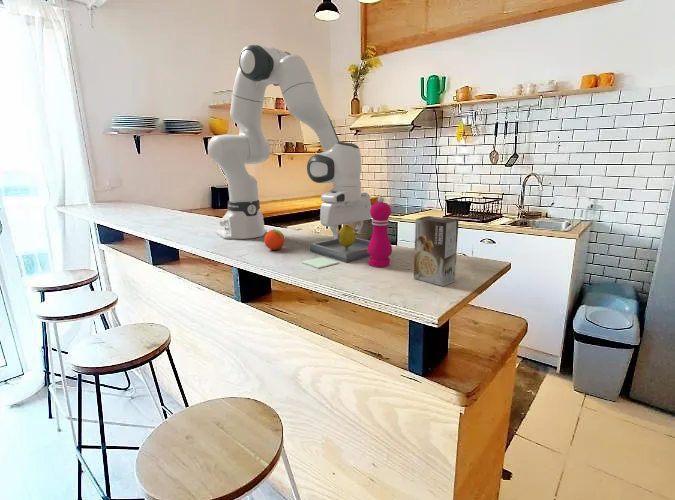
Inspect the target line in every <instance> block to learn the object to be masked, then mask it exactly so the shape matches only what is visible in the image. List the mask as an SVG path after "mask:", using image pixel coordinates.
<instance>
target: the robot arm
mask: <svg viewBox="0 0 675 500" xmlns="http://www.w3.org/2000/svg"><path fill="white" fill-rule="evenodd" d="M238 65H239V67H238V69H237V72H236V76H235V78H234V83H233V88H232V95H231V101H230V109H229V114H230V115H229V116H230V119H232V121H233V122H234V123H235V124H236V125H238V129H239V133H238V134H218V135H215V136H213V137H211V138H210V139H209V140H208V143H207V154H208V156H209V158H210V159H211V161H212V162H213V163H215V164H216V165H217V166H218V167H219V168H220V169H221V171H222V172H223V174H224V175H225V180H226V182H227V190H228V197H229V200H228V201H227V211H226V213H225V214H224V216H222V218H221V220H220V221H219V226H220V227H221V229H220V228H219V229H216V232H215V234H217V235H219V236H220V237H221V238H222V239H225V240H230V239H234V240H237V239H238V240H241V239H247V240H248V239H254V238H255V239H256V238H260V237H263V236H265V235H266V234H267V233H268V229H265V221H264V215H263V213H262V212H261V210H260V209H261V203H260V199H259V192H258V180H257V179H256V178H255V177H254V176H252V175H251V174H249V172H248V171H247V168H246V165H257V164H260V163H263V162H266V161H267V160H268V159H269V158H270V154H271V146H270V143H269V141H268V140H267V139H266V137H265V136H264V133H263V130H262V129H263V128H262V115H263V114H262V113H263V108H264V107H263V106H264V101H265V99H264V98H265V92H266V89H267V88H268V86H269V85H273V86H275V87H277V86H279V88H280V91H281V94H282V97H283V101H284V103H285V107H286V108H287V110H288V112H289V114H290V115H291V116H292V117H294V119H296V120H298V121H300V122H302V123H303V124H305V125H306V126H308V127H310V129H312V130H313V131H314V133H315V134H316V135H317V137H318V140H319V143H320V145H321V147H322V150H323V151H322V152H319V153H317V154H316V153H315V154H313V155H311V156H310V158H309V159H308V161H307V164H306V173H307V175H308V177H309V179H310V181H312V182H314V183H316V184H330V183H332V184H333V188H331V189H330V190H328V191H327V192H324V193H322V194H321V195H320V200H321V202H322V203H321V204H320V205H321V206H320V210H319V211H320V214H319V217H320V218H319V219H320V220H319V221H320V224H321V225H322V226H323V227H328V228H329V229H330V231H331V233H332V239H339V238H340V233H339V231H338V229H339V227H338V226H342V225H348V224H353V223H355V224H356V227H355V228H353V230H354V233H355V236H356V235H358V236H359V235H361V234H362V231H361V230H362V228H363V227H364V221H369V220H372V218H373V217H372V216H371V215H370V209H371V206H372V203H371V196H370V195H369V194H368V192H362V182H361V174H362V156H361V155H362V154H361V150H360V147H359V146H358V145H357V144H355V143H352V142H344V141H340V140H339V137H338V134H337V131H336V129H335V128H334V125H333V122H332V120H331V119H330V116H329V114H328V113H327V110H326V109H325V107H324V105H323V103H322V100H321V98H320V96H319V93H318V89H317V87H316V83H315V81H314V78H313V76H312V73H311V72H310V69H309V67H308V65H307V63H306V62H305V60H304V59H303V57H301V56H300V55H297V54H291V53H289V52H288V51H284V50H281V49H278V48H274V47H267V46H262V45H258V44H250V45H246V46H245V47H243V49H242V50H241V52H240V55H239V60H238Z"/></svg>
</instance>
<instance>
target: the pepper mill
mask: <svg viewBox="0 0 675 500" xmlns="http://www.w3.org/2000/svg"><path fill="white" fill-rule="evenodd" d="M384 201H385V199H384V197H382V196H379V197H378V198H377V202H375V203H372V204H371V209H370V215H371V216H372V217H371V225H372V235H371V237H370V240H369V241H370V242H369V244H368V250H367V252H368V254H369V255H370V256H369V258H368V265H369V266H371V267H373V268H385V267H389V266H390V265H391V258H390V256H391V254H392V252H393V247H392V242H391V241H390V237H389V234H388V226H389V225H390V223H389V221H390V219H389V218H390V216H392V209H391V206H390V205H389V204H388V203H386V202H384Z"/></svg>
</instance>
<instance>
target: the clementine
mask: <svg viewBox="0 0 675 500" xmlns="http://www.w3.org/2000/svg"><path fill="white" fill-rule="evenodd" d="M285 241H286V239H285V235H284V234H283V232H282V231H280V230H278V229H271V230H269V231H267V233H265V234H264V240H263V242H264V244H265V246H266V247H267V248H268V249H269V250H272V251H277V250H279V249H281V248H282V247H283V246H284V245H285Z"/></svg>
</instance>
